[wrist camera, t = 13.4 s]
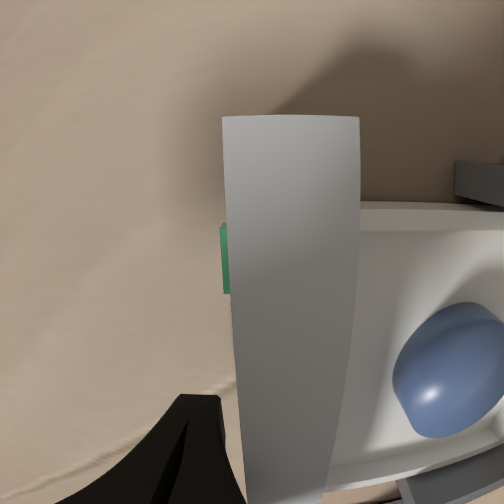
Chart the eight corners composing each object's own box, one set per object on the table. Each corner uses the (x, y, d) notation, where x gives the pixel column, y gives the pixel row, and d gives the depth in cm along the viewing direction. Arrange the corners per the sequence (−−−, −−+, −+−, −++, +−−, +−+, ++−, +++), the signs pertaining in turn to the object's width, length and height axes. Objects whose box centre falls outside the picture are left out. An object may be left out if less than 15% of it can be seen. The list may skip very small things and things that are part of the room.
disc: (473, 396, 12) (492, 421, 10) (379, 416, 12) (393, 448, 10) (507, 297, 10) (536, 316, 8) (406, 306, 10) (432, 334, 8)
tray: (480, 445, 13) (513, 501, 8) (252, 488, 14) (250, 569, 9) (556, 168, 9) (640, 185, 4) (233, 141, 9) (207, 118, 4)
